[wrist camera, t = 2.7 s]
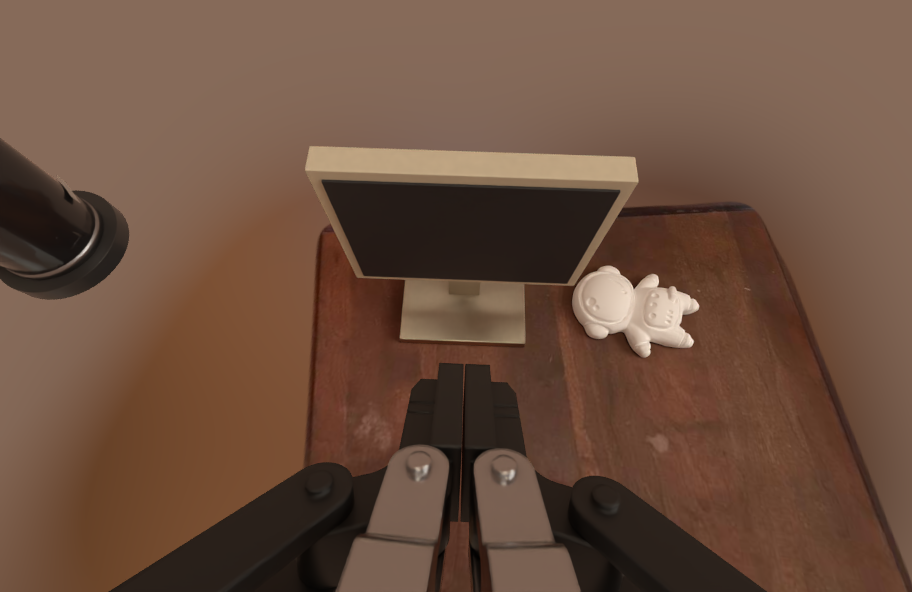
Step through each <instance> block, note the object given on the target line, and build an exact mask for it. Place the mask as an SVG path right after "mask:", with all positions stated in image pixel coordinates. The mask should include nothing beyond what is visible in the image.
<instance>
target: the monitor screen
mask: <svg viewBox="0 0 912 592" xmlns="http://www.w3.org/2000/svg"><path fill="white" fill-rule="evenodd" d="M305 172H306V174H307V176H308V178H309V180H310V182H311V184H312V186H313V188H314V191H315V193H316V195H317V197H318V199H319V201H320V203H321V205H322V207H323V209H324V211H325V213H326V215H327V217H328V219H329V221H330V223H331V225H332V227H333V229H334V231H335V233H336V236H337V238H338V240H339V242H340V244H341V246H342V248H343V250H344V252H345V254H346V256H347V258H348V260H349V262H350V264H351V266H352V268H353V270H354V272H355V274H356V276H357V278H378V279H405V280H432V281H458V282H485V283H512V284H538V285H565V286H574V285H575V283H576V282H577V280H578V278H579V277H580V275H581V274H582V272H583V270H584V269H585V267H586V265H587V264H588V262H589V261H590V259H591V257H592V256H593V254H594V253H595V251H596V249H597V248H598V246H599V245H600V243H601V241H602V240H603V238H604V237H605V235H606V233H607V232H608V230H609V228H610V227H611V225H612V224H613V222H614V220H615V219H616V217H617V216H618V214H619V212H620V211H621V209H622V208H623V206H624V204H625V203H626V201H627V199H628V198H629V196H630V195H631V193H632V191H633V190H634V188H635V187H636V185H637V183H638V175H637V168H636V161H635V157H617V156H587V155H559V154H530V153H527V154H526V153H499V152H469V151H439V150H409V149H381V148H351V147H320V146H310V147H309V152H308V157H307V161H306V166H305Z"/></svg>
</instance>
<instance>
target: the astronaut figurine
mask: <svg viewBox="0 0 912 592" xmlns="http://www.w3.org/2000/svg"><path fill="white" fill-rule="evenodd" d="M658 283H659V279H658V276H657V275H655V274H651V275H648V276H646V278H644V279H642V280H641V282H640V283H639V284H638V285H637V286H636V288H635V289H633V286H632V284H631V283H630V281H629V280H628V279H627V278H625V277H624V276H622V275H620V272H619V271H618V270H617V269H616V268H614V267H612V266H603V267H601V268H599V269H598V271H595V272H592V273H590V274H588V275H586V276H585V277H584V278H583V279H582V280H581V281H580V282H579V283H578V284H577V286H576V288H575V290H574V292H573V297H572V307H573V311H574V314H575V316H576V318H577V319H578V321H579V322H580V324H582V325H583V326H584V329H585V331H586V333H587V335H588V336H590V337H591V338H595V339H603V338H605V337H606V336H607V335H608V334H613V333H617V332H623V333H624V334H625V335H626V338H627V340H628V343H629V345H630V346H631V348H632V349H633V350H634V351H635V352H636V353H637V354H638V355H639V356H641V357H643V358H645V357H647V356H649V355H650V348H651V346H650V343H649V342H654V343H658V344H661V345H663V346H669V347H674V348H688V347H691V346H692V345H693V342H694V341H693V339H692V338H691V336H690V335H689V334H688V333H685V330H683V329H682V328H681V327H680V326H679V325H680V323H681V320H682V314H683V315H687V314H691V313H693V312H696V311H697V310H698V309H699V304H698V303H697V302H696V300H695V299H690V296H689V295H687V294H684V293H682V292H679V291H676V288H675V287H673V286H671V287H670V288H669V289H666V288H657V286H658Z"/></svg>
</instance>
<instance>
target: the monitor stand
mask: <svg viewBox="0 0 912 592" xmlns="http://www.w3.org/2000/svg"><path fill="white" fill-rule="evenodd" d="M399 339H400V341H401V342H403V343H428V344H453V345H479V346H504V347H524V345H525V299H524V284H512V283H485V282H458V281H432V280H405V285H404V295H403V306H402V317H401V328H400V338H399Z"/></svg>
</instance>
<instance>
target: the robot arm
mask: <svg viewBox="0 0 912 592" xmlns="http://www.w3.org/2000/svg"><path fill="white" fill-rule="evenodd" d="M57 177H58V176H57ZM58 178H59V177H58ZM59 180H60V181H61V183H62V184H63V185H62V184H61V183H60V182H58V181H57V180H56V179H54V178H53V177H52V176H50V175H49V174H48V173H46V172H45V171H44V170H42V169H41V168H40V167H38V166H37V165H36V164H34V163H33V162H32V161H30V160H29V159H28V158H26V157H25V156H24V155H22V154H21V153H20V152H18V151H17V150H16V149H14V148H13V147H12V146H10V145H9V144H7V143H6V142H5V141H4V140H2V139H1V138H0V266H2V267H4V268H6V269H7V270H8V271H10V272H12V273H14V274H16V275H18V276H21V277H23V278H26V279H30V280H48V279H53V278H57V277H60V276H62V275H65V274H67V273H69V272H71V271H73V270H74V269H76V268H78V267H79V266H80V265H82V264H83V263H84V262H85V261H86V260H87V259H88V258H89V257H90V256H91V255H92V254H93V253H94V251H95V250H96V249H97V247H98V245H99V243H100V241H101V238H102V235H103V229H104V224H103V219H102V217H101V214H100V213H99V211H98V210H97V209H96V208H95V207H93V206H92V205H91V204H89V203H88V202H87V201H85V200H84V199H82V198H80V197H78V196H77V195H76V194H74V193H73V192H72V191H71V189H70V188H69V186H68V185H67V184H66V182H65V181H63V180H62V179H61V178H59ZM462 409H463V430H462ZM461 451H462V481H461V522H469V548H468V557H469V570H470V583H471V592H767V591H765V590H764V589H763V588H761V587H760V586H759V585H757V584H756V583H754V582H753V581H752V580H750V579H749V578H748V577H746V576H745V575H744V574H742V573H741V572H740V571H738V570H737V569H736V568H734V567H733V566H731V565H730V564H729V563H727V562H726V561H725V560H723V559H722V558H721V557H719V556H718V555H717V554H715V553H714V552H712V551H711V550H710V549H708V548H707V547H706V546H704V545H703V544H702V543H700V542H699V541H698V540H696V539H695V538H694V537H692V536H691V535H689V534H688V533H687V532H685V531H684V530H683V529H681V528H680V527H679V526H677V525H676V524H675V523H673V522H672V521H671V520H669V519H668V518H666V517H665V516H664V515H662V514H661V513H660V512H658V511H657V510H656V509H654V508H653V507H652V506H650V505H649V504H647V503H646V502H645V501H643V500H642V499H641V498H639V497H638V496H637V495H635V494H634V493H633V492H631V491H630V490H629V489H627V488H626V487H624V486H623V485H621V484H620V483H618V482H616V481H614V480H612V479H609V478H606V477H601V476H588V477H584V478H581V479H580V480H578V481H577V482H576V483H575V484H574V485H573V488H572V487H569V486H566V485H563V484H559V483H556V482H553V481H551V480H549V479H547V478H545V477H543V476H542V475H540V474H539V473H538V472H536V471H535V470H534V467H533V465H532V464H531V462H530V461H529V460H528V459H527V456H526V451H525V445H524V439H523V433H522V427H521V422H520V418H519V410H518V404H517V398H516V393H515V392H514V391H513V389H512V388H511V387H510V386H509V385H508V383H504V382H491V375H490V365H476V364H466V365H465V383H464V403H463V364H451V363H439V371H438V380H434V379H420V381H419V382H418V383H417V384H416V385H415V386H414V387H413V388H412V390H411V395H410V400H409V405H408V409H407V414H406V419H405V424H404V429H403V434H402V438H401V443H400V448H399V451H398V452H396V453H395V454H394V455H393V456H392V458H391V459H390V461H389V464H388V466H386V467H385V468H383V469H381V470H379V471H376V472H374V473H370V474H366V475H361V476H356V477H352V475H351V473H350V472H349V470H348V469H347V468H345V467H344V466H342V465H339V464H336V463H329V462H326V463H317V464H314V465H311V466H308V467H306V468H304V469H302V470H301V471H299V472H297V473H296V474H295V475H293V476H291V477H290V478H288V479H286V480H285V481H283V482H282V483H280V484H278V485H277V486H275V487H274V488H272V489H271V490H269V491H267V492H266V493H264V494H263V495H261V496H259V497H258V498H256V499H255V500H253V501H252V502H250V503H248V504H247V505H245V506H244V507H242V508H240V509H239V510H238V511H236V512H234V513H233V514H231V515H230V516H228V517H226V518H225V519H223V520H221V521H220V522H218V523H217V524H215V525H214V526H212V527H210V528H209V529H207V530H206V531H204V532H202V533H201V534H199V535H198V536H196V537H195V538H193V539H191V540H190V541H188V542H187V543H185V544H184V545H182V546H180V547H179V548H177V549H176V550H174V551H172V552H171V553H169V554H168V555H166V556H164V557H163V558H161V559H160V560H158V561H157V562H155V563H153V564H152V565H150V566H149V567H147V568H145V569H144V570H142V571H141V572H139V573H138V574H136V575H134V576H133V577H131V578H130V579H128V580H126V581H125V582H123V583H122V584H120V585H119V586H117V587H115V588H114V589H112V590H111V591H109V592H441V587H442V580H443V572H444V565H445V557H446V546H447V544H448V541H449V536H450V521H454V522H458V511H459V491H460V471H461Z"/></svg>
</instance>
